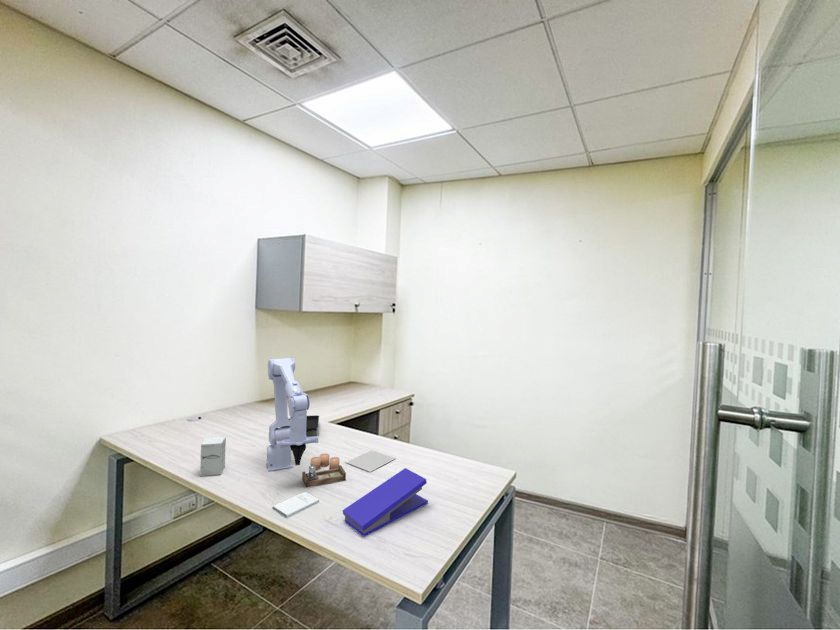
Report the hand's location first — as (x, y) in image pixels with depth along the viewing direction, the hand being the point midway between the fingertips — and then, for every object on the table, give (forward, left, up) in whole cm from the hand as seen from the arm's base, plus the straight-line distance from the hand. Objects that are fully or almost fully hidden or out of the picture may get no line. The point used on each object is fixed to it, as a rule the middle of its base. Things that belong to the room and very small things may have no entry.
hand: (297, 464), depth 138 cm
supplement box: (-28, +23, -8) cm, 37 cm away
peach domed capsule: (+9, +11, -8) cm, 16 cm away
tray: (+10, +59, -8) cm, 60 cm away
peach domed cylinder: (+16, +8, -8) cm, 20 cm away
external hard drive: (-2, -14, -9) cm, 17 cm away
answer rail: (+10, 0, -8) cm, 13 cm away
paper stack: (+31, +3, -8) cm, 32 cm away
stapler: (+24, -30, -9) cm, 39 cm away
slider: (+6, 0, -6) cm, 9 cm away
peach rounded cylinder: (+13, +13, -8) cm, 20 cm away
